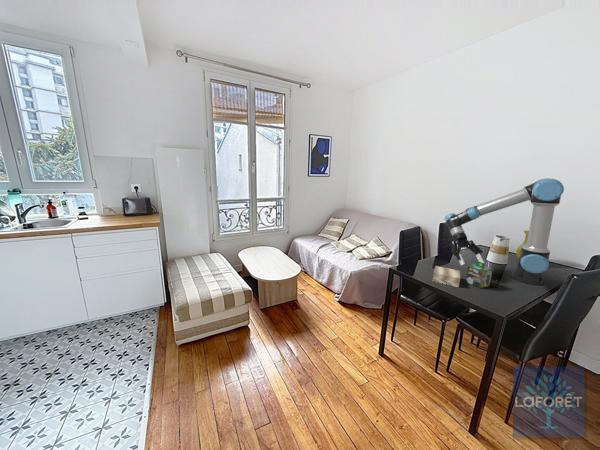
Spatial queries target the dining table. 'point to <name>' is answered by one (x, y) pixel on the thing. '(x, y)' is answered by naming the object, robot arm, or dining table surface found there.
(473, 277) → the chalk box
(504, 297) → the dining table surface
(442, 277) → the birch block
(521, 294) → the dining table surface
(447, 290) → the dining table surface
